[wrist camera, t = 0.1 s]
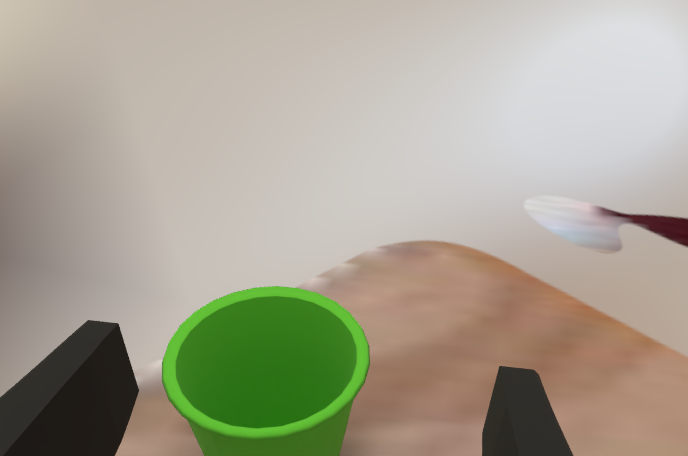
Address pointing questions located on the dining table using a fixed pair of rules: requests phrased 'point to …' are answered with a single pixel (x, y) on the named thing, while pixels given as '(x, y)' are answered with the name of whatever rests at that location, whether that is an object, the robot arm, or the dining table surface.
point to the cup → (267, 373)
